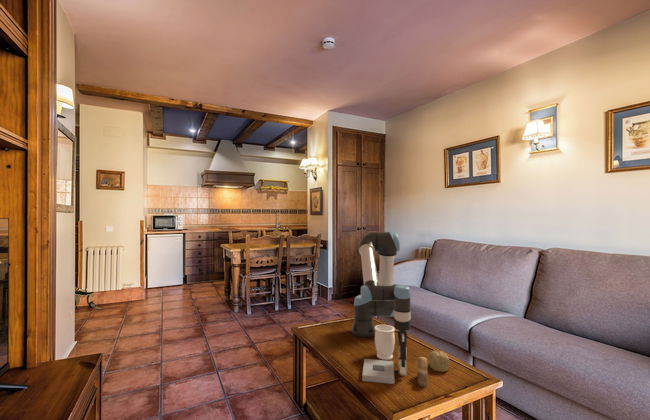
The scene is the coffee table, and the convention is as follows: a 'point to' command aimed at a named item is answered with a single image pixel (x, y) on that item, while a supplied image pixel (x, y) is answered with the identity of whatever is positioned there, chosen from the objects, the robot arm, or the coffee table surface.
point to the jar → (384, 341)
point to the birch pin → (399, 362)
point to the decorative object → (439, 361)
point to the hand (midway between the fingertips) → (402, 368)
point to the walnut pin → (422, 378)
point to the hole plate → (379, 376)
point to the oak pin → (422, 364)
